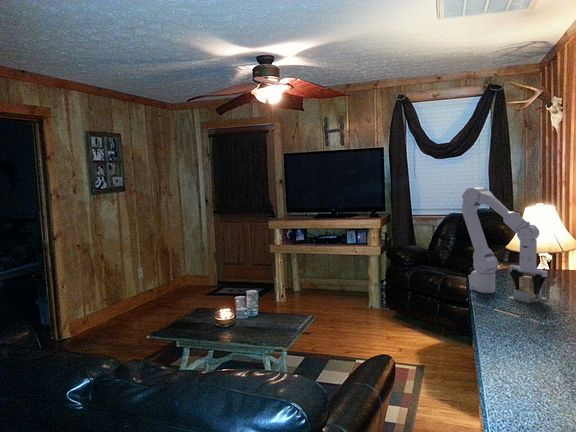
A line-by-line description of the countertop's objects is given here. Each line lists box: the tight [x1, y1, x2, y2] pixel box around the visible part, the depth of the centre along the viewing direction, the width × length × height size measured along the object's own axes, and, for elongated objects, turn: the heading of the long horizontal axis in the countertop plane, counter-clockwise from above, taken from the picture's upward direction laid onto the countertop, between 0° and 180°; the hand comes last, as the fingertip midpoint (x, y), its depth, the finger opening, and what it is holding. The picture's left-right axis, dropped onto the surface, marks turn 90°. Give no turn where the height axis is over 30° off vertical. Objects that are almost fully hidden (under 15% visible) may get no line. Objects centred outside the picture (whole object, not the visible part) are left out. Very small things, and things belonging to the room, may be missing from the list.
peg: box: [519, 275, 536, 299], centre depth 175 cm, size 4×4×8 cm
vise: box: [507, 289, 548, 304], centre depth 175 cm, size 9×11×4 cm
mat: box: [493, 308, 526, 319], centre depth 163 cm, size 10×14×1 cm
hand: (527, 291), depth 175 cm, fingers open, 7 cm apart
